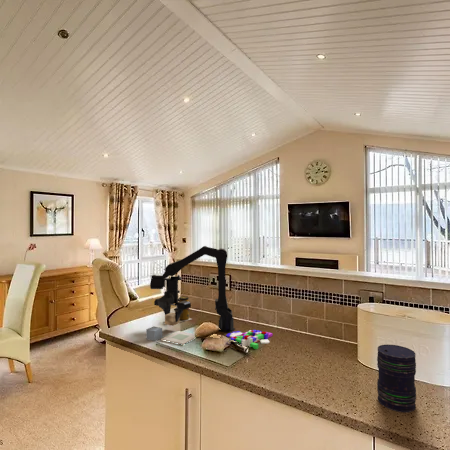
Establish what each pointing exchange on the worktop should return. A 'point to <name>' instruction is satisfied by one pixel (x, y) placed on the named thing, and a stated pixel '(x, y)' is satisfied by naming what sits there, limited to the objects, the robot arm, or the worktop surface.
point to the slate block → (154, 333)
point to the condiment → (185, 313)
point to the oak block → (171, 319)
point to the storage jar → (396, 378)
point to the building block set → (250, 337)
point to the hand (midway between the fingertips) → (172, 320)
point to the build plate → (179, 337)
